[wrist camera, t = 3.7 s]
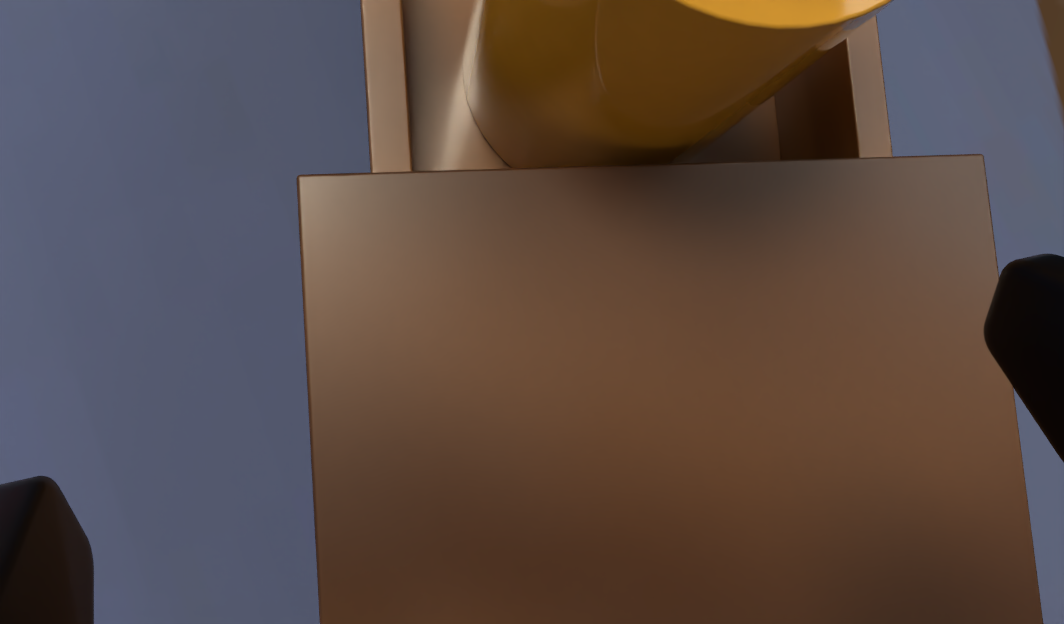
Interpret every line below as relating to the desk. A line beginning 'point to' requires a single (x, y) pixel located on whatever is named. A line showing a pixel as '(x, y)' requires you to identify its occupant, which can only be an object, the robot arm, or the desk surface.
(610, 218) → the cabinet
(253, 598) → the desk surface
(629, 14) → the bottle
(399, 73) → the drawer
